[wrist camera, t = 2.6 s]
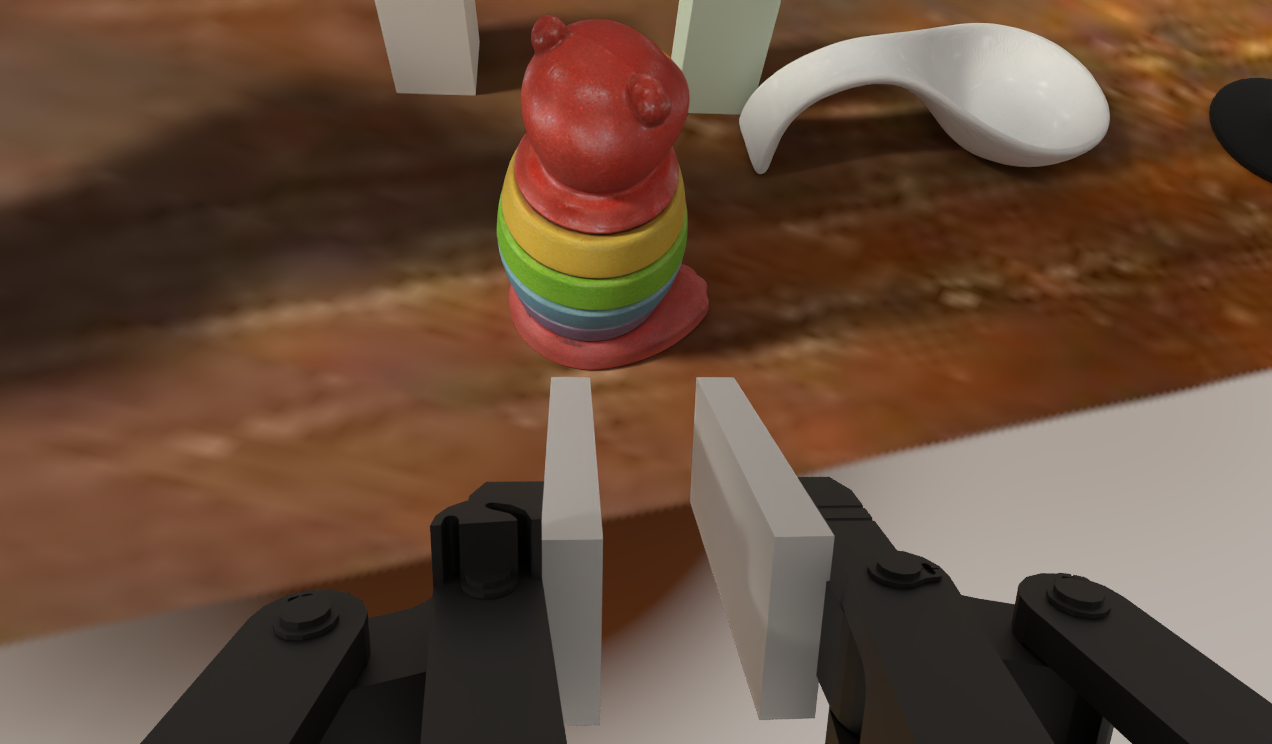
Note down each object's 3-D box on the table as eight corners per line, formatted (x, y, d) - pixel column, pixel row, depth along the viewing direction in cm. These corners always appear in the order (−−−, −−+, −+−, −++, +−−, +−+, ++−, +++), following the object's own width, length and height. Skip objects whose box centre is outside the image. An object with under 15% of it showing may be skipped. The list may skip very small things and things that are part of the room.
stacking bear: (723, 304, 47) (801, 53, 32) (598, 416, 43) (617, 194, 28) (590, 195, 50) (601, -83, 34) (462, 291, 46) (409, 26, 31)
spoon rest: (1036, 60, 59) (1092, -30, 53) (1112, 185, 54) (1184, 103, 48) (722, 90, 56) (741, -2, 49) (770, 229, 50) (800, 145, 44)
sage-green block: (675, 112, 54) (696, -24, 45) (671, 58, 56) (690, -81, 47) (750, 114, 54) (786, -20, 46) (743, 61, 57) (775, -77, 48)
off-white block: (396, 92, 53) (362, -50, 44) (404, 39, 55) (373, -108, 46) (475, 95, 53) (457, -46, 45) (479, 41, 56) (463, -103, 47)
